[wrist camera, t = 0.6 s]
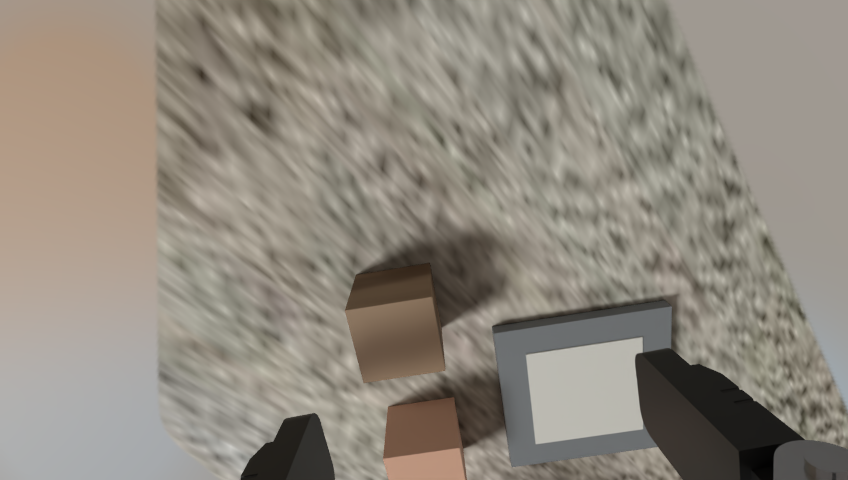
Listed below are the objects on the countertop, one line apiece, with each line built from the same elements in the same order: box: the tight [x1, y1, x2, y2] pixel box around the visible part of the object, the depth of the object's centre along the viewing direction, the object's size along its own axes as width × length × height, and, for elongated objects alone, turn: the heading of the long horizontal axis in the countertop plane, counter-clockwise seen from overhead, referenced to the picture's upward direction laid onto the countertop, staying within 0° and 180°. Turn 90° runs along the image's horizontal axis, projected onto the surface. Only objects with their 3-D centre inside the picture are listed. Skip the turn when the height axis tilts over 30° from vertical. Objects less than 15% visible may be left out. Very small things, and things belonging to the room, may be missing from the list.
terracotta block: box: [383, 397, 467, 480], centre depth 32 cm, size 5×5×5 cm
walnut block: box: [345, 263, 445, 383], centre depth 29 cm, size 5×5×5 cm
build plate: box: [492, 300, 672, 467], centre depth 33 cm, size 12×12×1 cm
